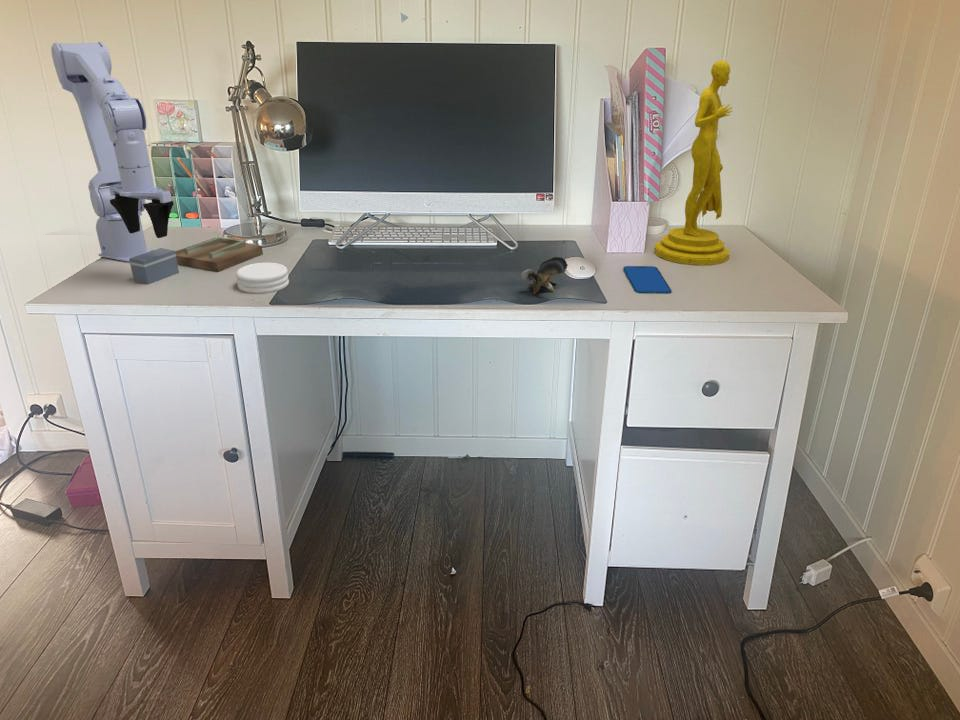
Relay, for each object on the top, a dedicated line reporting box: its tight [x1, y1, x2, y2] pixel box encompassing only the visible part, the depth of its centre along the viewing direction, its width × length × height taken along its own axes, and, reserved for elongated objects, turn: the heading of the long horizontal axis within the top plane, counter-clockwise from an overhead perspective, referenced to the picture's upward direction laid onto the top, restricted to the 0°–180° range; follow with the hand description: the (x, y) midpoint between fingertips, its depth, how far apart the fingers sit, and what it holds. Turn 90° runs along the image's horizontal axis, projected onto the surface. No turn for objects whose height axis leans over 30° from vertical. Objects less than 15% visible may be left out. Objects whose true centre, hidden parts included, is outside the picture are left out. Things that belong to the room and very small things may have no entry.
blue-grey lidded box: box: [129, 247, 180, 285], centre depth 145 cm, size 4×8×5 cm, turn 155°
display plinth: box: [175, 236, 264, 273], centre depth 157 cm, size 14×14×3 cm
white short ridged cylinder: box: [235, 262, 290, 294], centre depth 142 cm, size 10×10×4 cm
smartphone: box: [622, 265, 672, 295], centre depth 146 cm, size 7×1×15 cm
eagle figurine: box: [520, 256, 569, 295], centre depth 140 cm, size 8×7×9 cm
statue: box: [653, 60, 733, 266], centre depth 154 cm, size 17×17×41 cm
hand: (148, 234), depth 142 cm, fingers open, 7 cm apart
